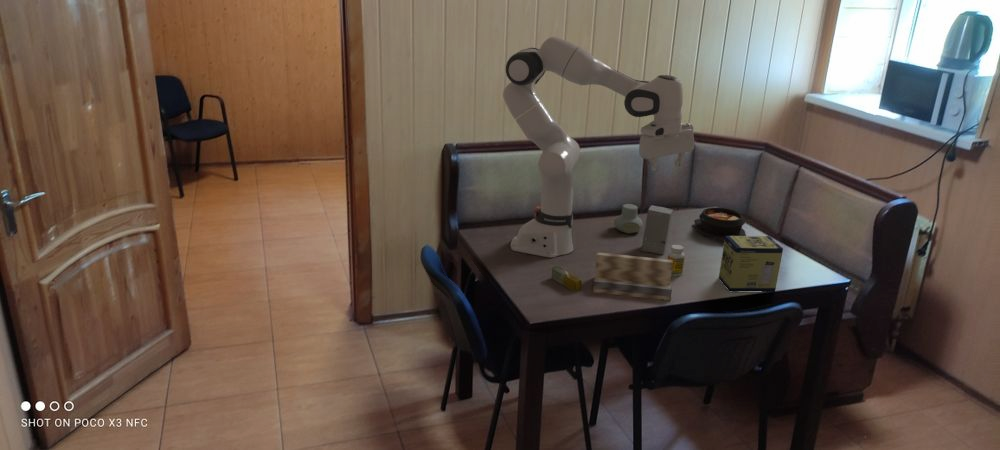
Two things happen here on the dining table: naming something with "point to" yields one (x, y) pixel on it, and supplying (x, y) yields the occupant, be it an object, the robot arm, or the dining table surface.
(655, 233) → the skincare box
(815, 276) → the dining table surface
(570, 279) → the medication box
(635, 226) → the air freshener
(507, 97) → the robot arm
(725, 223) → the casserole
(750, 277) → the protein box
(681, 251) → the supplement bottle
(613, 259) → the cleat board
